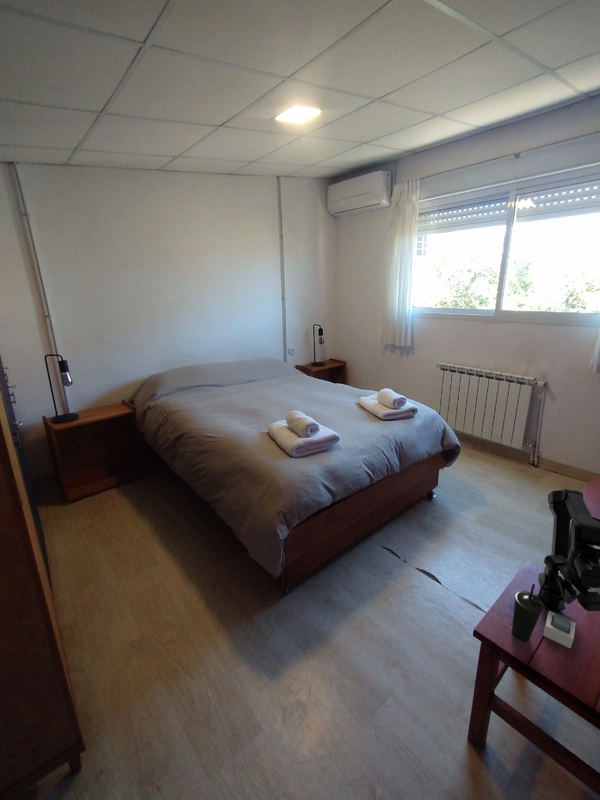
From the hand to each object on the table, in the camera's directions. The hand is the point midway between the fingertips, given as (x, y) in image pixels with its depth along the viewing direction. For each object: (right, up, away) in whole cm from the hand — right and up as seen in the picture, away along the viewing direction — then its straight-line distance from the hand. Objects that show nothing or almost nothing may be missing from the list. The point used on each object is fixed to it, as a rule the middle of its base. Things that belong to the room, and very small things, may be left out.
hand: (567, 603), depth 112 cm
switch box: (0, -12, +4) cm, 12 cm away
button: (0, -9, +3) cm, 10 cm away
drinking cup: (-12, -12, +4) cm, 17 cm away
